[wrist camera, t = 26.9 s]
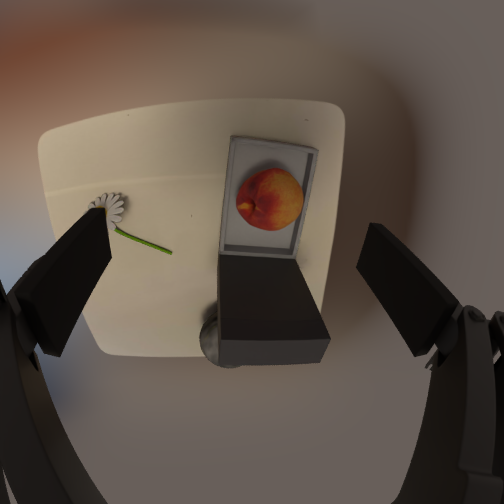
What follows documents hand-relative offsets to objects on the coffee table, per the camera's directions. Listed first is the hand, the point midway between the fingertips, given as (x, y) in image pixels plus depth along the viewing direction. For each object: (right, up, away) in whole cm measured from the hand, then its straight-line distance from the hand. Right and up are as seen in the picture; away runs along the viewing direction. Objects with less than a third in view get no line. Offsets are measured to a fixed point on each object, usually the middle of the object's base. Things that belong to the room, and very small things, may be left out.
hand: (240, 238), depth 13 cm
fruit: (+3, +8, +24) cm, 26 cm away
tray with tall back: (+2, +5, +26) cm, 27 cm away
